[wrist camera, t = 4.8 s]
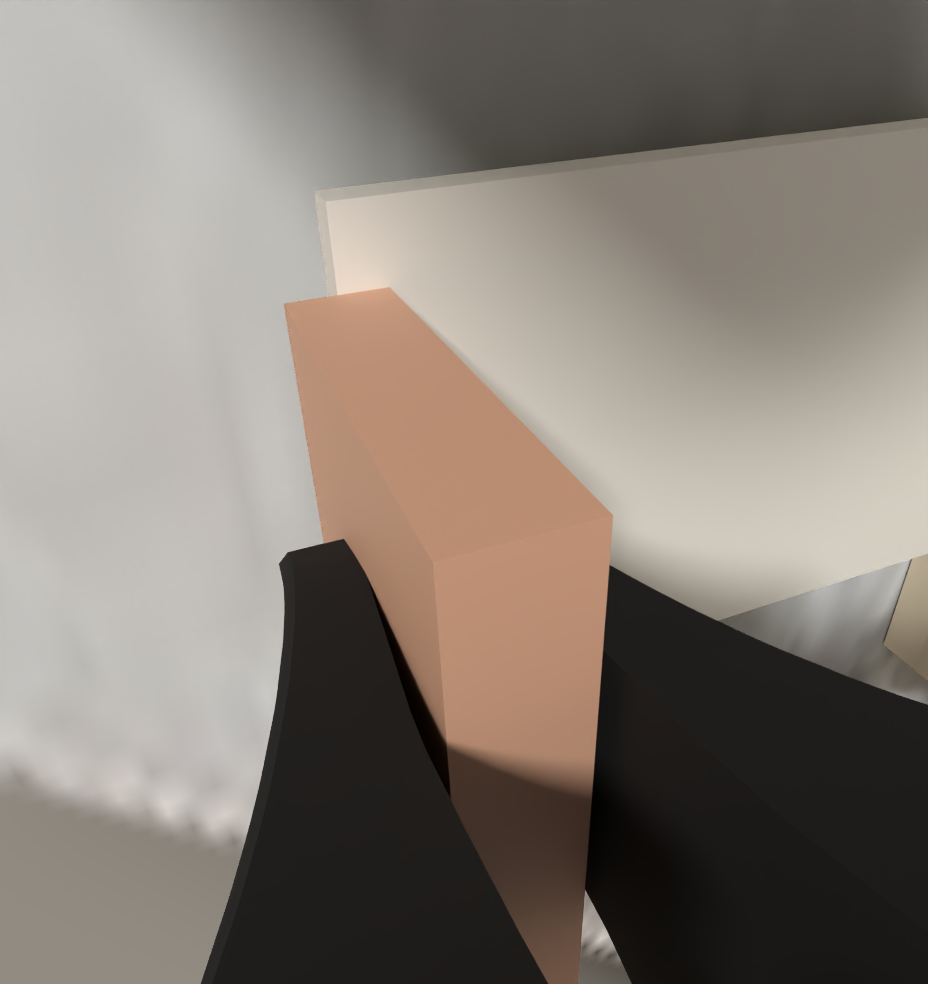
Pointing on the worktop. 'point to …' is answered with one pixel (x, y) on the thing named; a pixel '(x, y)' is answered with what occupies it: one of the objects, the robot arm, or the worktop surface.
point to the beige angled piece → (608, 434)
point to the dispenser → (912, 619)
